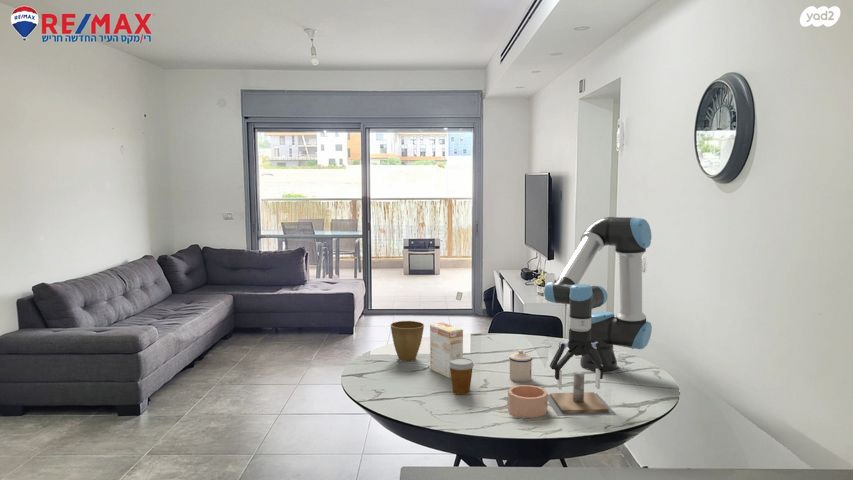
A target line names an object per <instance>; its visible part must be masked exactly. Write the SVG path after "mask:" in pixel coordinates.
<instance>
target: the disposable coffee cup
mask: <svg viewBox="0 0 853 480" xmlns="http://www.w3.org/2000/svg"><path fill="white" fill-rule="evenodd" d="M474 366H475V364H474V361H473V359H471V358H469V357H463V358H453V359H451V360H450V363H449V367H450V372H451V378H450V379H451V385H452V386H451V388H452V392H453V394H455V395H467V394H470V392H471V391H470V390H471V384H472V376H473V369H474Z"/></svg>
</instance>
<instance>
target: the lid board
mask: <svg viewBox="0 0 853 480" xmlns="http://www.w3.org/2000/svg"><path fill="white" fill-rule="evenodd" d="M595 393H596V392H594V391H593V392H591V391H589V392H588V391H587V392H585V373H584V372H583V371H574V372H573V392H550V393H549V394H550V397H551V398H552V399H553V401H554V402H555V404H556V405H557V407H558V408H559V410H560V411H561V413H609V409H608V408H607V407H606V406H605V404H604V403H603V402H602V401H601V400H600V399H599V398H598V397H597V396H596V395H595Z"/></svg>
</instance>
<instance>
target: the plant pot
mask: <svg viewBox="0 0 853 480" xmlns="http://www.w3.org/2000/svg"><path fill="white" fill-rule="evenodd" d="M424 328H425V323H422V322H420V321H416V320H415V321H414V320H400V321H399V320H398V321H395V322H392V323H391V324H390V331H391V337H392V341H393V346H394V349H395V352H396V356H397V358H398V360H399V361H401V362H404V363H405V362H414V361H416V358H417V356H418V354H419V350H420V347H421V344H422V339H423V334H424V330H425V329H424Z"/></svg>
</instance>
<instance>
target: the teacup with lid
mask: <svg viewBox="0 0 853 480" xmlns="http://www.w3.org/2000/svg"><path fill="white" fill-rule="evenodd" d="M508 360H509V379H510V380H511V381H513V382H519V383H525V382H529V381H531V379H532V363H533V362H532V361H533V357H532V356H531V354H527V353H526V352H524V350H522V349H518V352H515V353H512V354H510V355H509V359H508Z"/></svg>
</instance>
